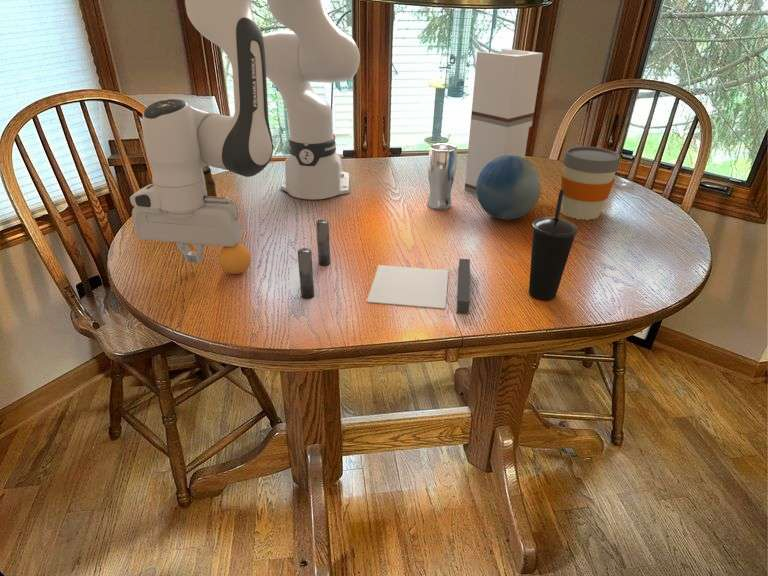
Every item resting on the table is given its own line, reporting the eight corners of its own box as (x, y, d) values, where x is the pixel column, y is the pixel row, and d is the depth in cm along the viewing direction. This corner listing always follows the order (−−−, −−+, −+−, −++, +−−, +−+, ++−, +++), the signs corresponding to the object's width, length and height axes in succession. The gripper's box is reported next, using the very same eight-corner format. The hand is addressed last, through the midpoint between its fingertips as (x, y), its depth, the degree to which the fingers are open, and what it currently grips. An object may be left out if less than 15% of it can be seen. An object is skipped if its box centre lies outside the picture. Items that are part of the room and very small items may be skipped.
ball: (228, 263, 106) (224, 236, 103) (256, 266, 106) (253, 238, 103) (216, 278, 101) (211, 250, 98) (246, 280, 100) (242, 252, 97)
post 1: (303, 291, 97) (299, 247, 93) (315, 292, 97) (313, 248, 92) (299, 298, 95) (295, 253, 91) (312, 299, 95) (309, 254, 90)
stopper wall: (458, 269, 105) (459, 258, 104) (468, 270, 105) (469, 259, 104) (456, 313, 92) (457, 300, 90) (468, 314, 91) (469, 301, 90)
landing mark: (378, 265, 106) (378, 265, 106) (448, 271, 105) (448, 270, 105) (366, 302, 94) (366, 301, 94) (445, 309, 93) (445, 308, 93)
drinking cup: (556, 283, 101) (576, 182, 91) (569, 304, 94) (593, 198, 84) (516, 283, 101) (532, 182, 91) (527, 305, 94) (545, 198, 84)
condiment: (195, 212, 129) (186, 164, 123) (230, 211, 130) (223, 163, 124) (189, 224, 123) (179, 174, 117) (226, 223, 124) (218, 173, 118)
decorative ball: (481, 202, 137) (487, 144, 130) (539, 211, 132) (550, 152, 125) (466, 223, 125) (472, 161, 118) (530, 234, 120) (540, 170, 113)
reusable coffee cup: (553, 219, 128) (564, 158, 121) (554, 201, 139) (565, 144, 131) (608, 225, 125) (623, 163, 117) (605, 207, 135) (619, 148, 128)
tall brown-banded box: (521, 192, 144) (542, 53, 126) (497, 201, 138) (516, 56, 120) (488, 181, 151) (504, 48, 133) (464, 190, 145) (477, 51, 127)
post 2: (320, 260, 108) (317, 219, 104) (331, 260, 108) (329, 220, 103) (317, 265, 106) (314, 224, 102) (328, 266, 106) (326, 224, 101)
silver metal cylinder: (443, 212, 131) (448, 152, 123) (420, 206, 134) (423, 147, 127) (458, 204, 136) (463, 146, 128) (435, 198, 139) (438, 141, 132)
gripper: (242, 192, 98) (251, 258, 105) (139, 185, 101) (155, 250, 108) (229, 204, 93) (239, 273, 100) (120, 197, 95) (138, 264, 102)
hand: (194, 261), depth 104 cm, fingers closed
